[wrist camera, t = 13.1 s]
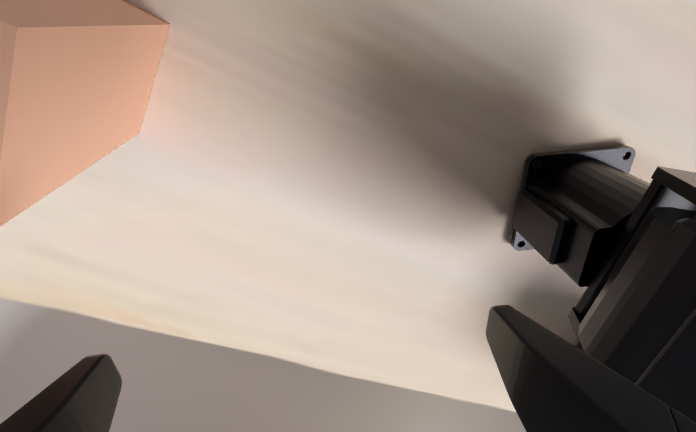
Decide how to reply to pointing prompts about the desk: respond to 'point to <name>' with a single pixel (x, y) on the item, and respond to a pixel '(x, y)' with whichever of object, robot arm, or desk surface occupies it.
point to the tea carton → (69, 89)
